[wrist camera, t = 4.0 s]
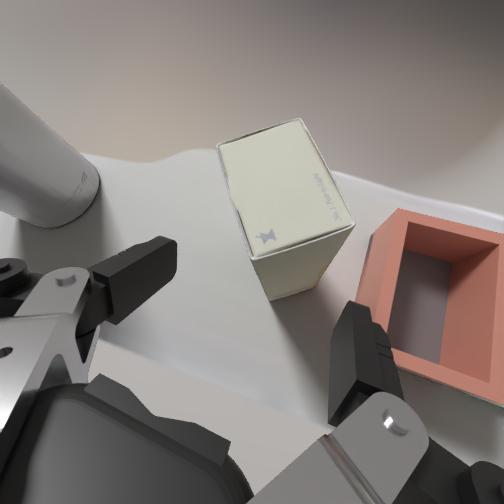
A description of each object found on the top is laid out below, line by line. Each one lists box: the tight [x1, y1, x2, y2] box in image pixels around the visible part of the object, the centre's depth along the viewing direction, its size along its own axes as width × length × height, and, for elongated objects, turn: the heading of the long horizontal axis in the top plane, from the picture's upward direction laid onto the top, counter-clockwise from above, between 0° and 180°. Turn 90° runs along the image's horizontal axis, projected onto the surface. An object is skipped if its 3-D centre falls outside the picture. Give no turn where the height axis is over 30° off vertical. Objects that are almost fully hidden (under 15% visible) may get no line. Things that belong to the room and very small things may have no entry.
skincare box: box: [216, 118, 356, 301], centre depth 15 cm, size 6×4×12 cm
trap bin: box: [355, 208, 504, 405], centre depth 16 cm, size 7×10×5 cm
